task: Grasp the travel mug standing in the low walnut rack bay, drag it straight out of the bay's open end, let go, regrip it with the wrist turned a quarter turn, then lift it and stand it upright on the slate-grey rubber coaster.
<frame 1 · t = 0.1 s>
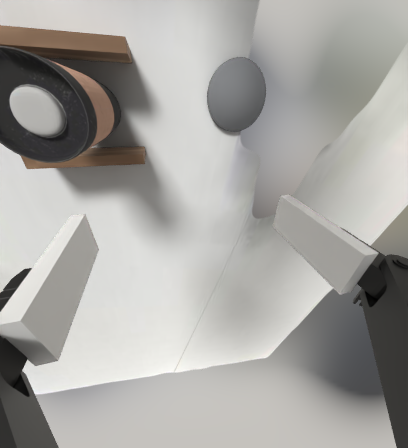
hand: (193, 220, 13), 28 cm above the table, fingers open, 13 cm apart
travel mug: (97, 108, 30), on the table
coaster: (236, 97, 34), on the table
rack bay: (87, 108, 30), on the table
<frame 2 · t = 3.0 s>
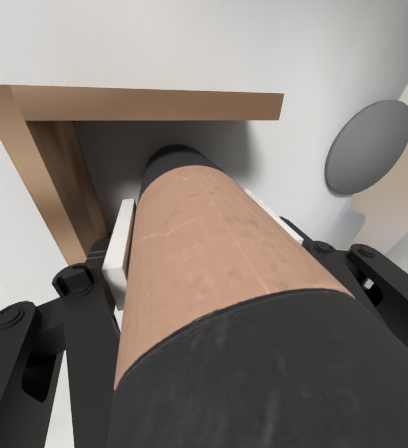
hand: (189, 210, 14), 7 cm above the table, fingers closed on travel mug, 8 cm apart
travel mug: (178, 178, 20), on the table, touching gripper
coaster: (363, 152, 24), on the table
rack bay: (164, 180, 20), on the table
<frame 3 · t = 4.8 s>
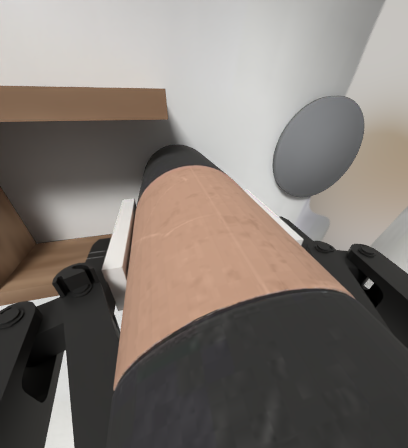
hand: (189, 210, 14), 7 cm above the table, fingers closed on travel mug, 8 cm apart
travel mug: (178, 178, 20), on the table, touching gripper
coaster: (315, 152, 22), on the table
rack bay: (87, 185, 18), on the table
when the fingers open (7 cm above the table, at t = 7.0 s): travel mug stays where it is, on the table.
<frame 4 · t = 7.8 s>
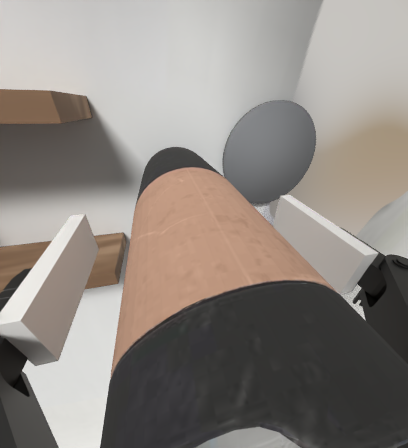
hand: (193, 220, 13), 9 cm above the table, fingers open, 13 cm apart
travel mug: (176, 180, 21), on the table
coaster: (267, 157, 21), on the table
rack bay: (19, 191, 17), on the table
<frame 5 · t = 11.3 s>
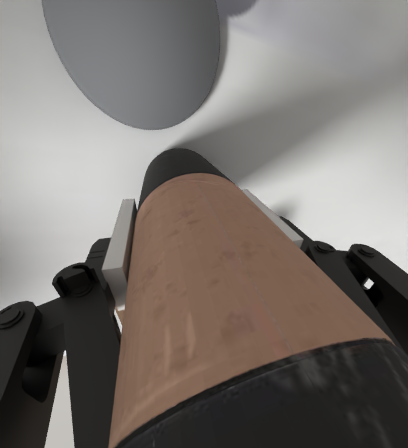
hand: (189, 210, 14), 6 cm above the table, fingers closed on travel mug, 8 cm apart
travel mug: (179, 183, 19), on the table, touching gripper
coaster: (142, 42, 13), on the table
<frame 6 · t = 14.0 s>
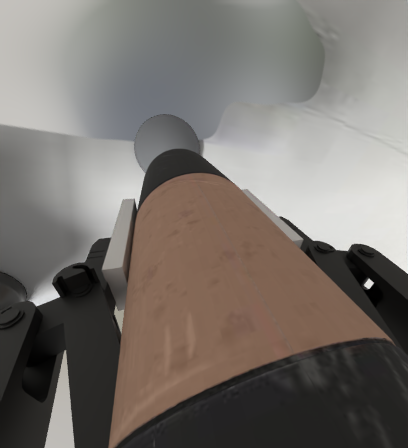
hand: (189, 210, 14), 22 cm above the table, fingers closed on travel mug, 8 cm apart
travel mug: (179, 183, 19), point 16 cm above the table, touching gripper
coaster: (168, 150, 32), on the table
when the fingers open (8 cm above the table, at t = 16.8 s): travel mug drops 1 cm, resting on coaster.
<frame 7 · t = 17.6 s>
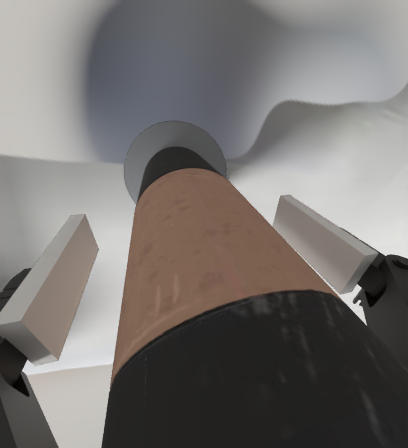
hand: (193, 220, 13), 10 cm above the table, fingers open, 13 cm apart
travel mug: (177, 179, 20), point 1 cm above the table, touching coaster
coaster: (177, 176, 21), on the table
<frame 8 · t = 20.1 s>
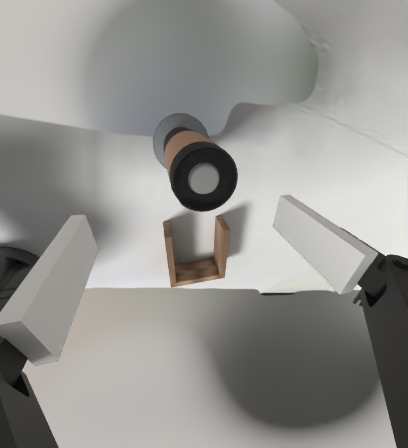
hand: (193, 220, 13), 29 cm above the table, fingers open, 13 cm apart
travel mug: (181, 146, 36), point 1 cm above the table, touching coaster
coaster: (181, 145, 37), on the table
rack bay: (193, 243, 51), on the table
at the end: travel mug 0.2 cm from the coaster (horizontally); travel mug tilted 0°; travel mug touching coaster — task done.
